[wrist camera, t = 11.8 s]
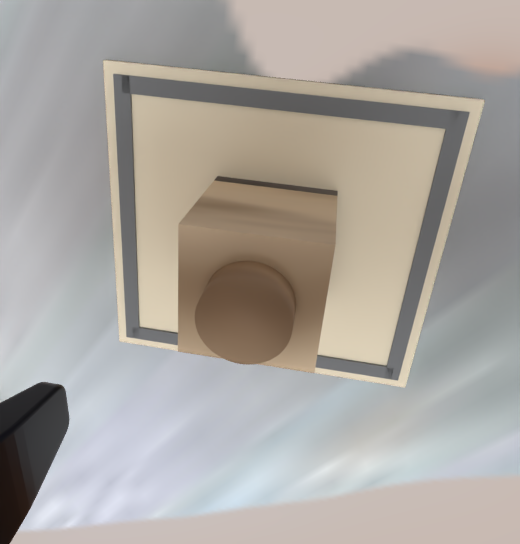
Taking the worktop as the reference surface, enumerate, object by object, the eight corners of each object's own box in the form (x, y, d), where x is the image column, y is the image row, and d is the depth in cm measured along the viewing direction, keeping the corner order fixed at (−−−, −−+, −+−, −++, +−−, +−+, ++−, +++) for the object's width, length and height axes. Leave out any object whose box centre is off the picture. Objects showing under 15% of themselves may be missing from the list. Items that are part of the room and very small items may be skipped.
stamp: (320, 296, 20) (312, 398, 15) (213, 281, 21) (166, 374, 15) (337, 190, 18) (334, 263, 13) (217, 176, 19) (165, 239, 13)
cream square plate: (482, 99, 16) (485, 100, 16) (404, 383, 22) (405, 389, 22) (106, 59, 18) (101, 60, 17) (122, 337, 23) (118, 342, 23)
